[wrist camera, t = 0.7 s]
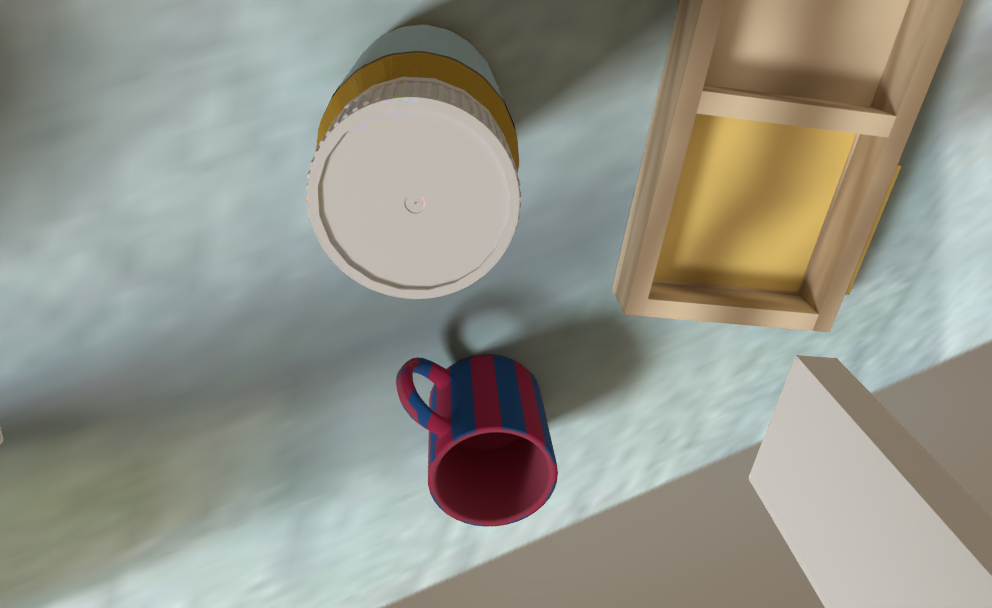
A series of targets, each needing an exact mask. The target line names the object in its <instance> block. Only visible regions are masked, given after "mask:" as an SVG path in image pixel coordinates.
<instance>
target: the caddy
mask: <svg viewBox="0 0 992 608" xmlns="http://www.w3.org/2000/svg"><path fill="white" fill-rule="evenodd" d="M963 2H964V0H679V5H678V9H677V13H676V18H675V22H674V26H673V30H672V35H671V39H670V43H669V48H668V52H667V56H666V60H665V65H664V69H663V73H662V78H661V82H660V86H659V90H658V95H657V99H656V103H655V107H654V112H653V116H652V120H651V125H650V129H649V133H648V137H647V142H646V146H645V150H644V155H643V159H642V163H641V167H640V172H639V176H638V180H637V185H636V189H635V193H634V197H633V202H632V206H631V210H630V215H629V219H628V223H627V227H626V232H625V236H624V240H623V245H622V249H621V253H620V257H619V262H618V266H617V270H616V275H615V279H614V283H613V287H612V290H613V292H614V294H615V296H616V298H617V300H618V302H619V304H620V306H621V308H622V310H623V312H624V314H625V315H635V316H647V317H659V318H671V319H682V320H694V321H706V322H717V323H729V324H741V325H753V326H764V327H776V328H788V329H800V330H811V331H823V332H830V330H831V328H832V325H833V323H834V320H835V318H836V315H837V313H838V310H839V308H840V306H841V303H842V301H843V298H844V296H845V294H846V295H849V293H850V291H851V289H852V286H853V284H854V281H855V279H856V276H857V274H858V271H859V269H860V267H861V264H862V262H863V259H864V257H865V254H866V252H867V249H868V247H869V244H870V242H871V240H872V237H873V235H874V232H875V230H876V227H877V225H878V222H879V220H880V218H881V215H882V213H883V210H884V208H885V205H886V203H887V200H888V198H889V196H890V193H891V191H892V188H893V186H894V183H895V181H896V178H897V176H898V173H899V171H900V169H901V165H899V164H898V162H899V160H900V158H901V155H902V153H903V150H904V148H905V145H906V143H907V140H908V138H909V135H910V133H911V130H912V128H913V125H914V123H915V120H916V118H917V116H918V113H919V111H920V108H921V106H922V103H923V101H924V98H925V96H926V93H927V91H928V88H929V86H930V83H931V81H932V79H933V76H934V74H935V71H936V69H937V66H938V64H939V61H940V59H941V56H942V54H943V51H944V49H945V46H946V44H947V42H948V39H949V37H950V34H951V32H952V29H953V27H954V24H955V22H956V19H957V17H958V14H959V12H960V9H961V7H962V5H963Z"/></svg>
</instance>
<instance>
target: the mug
mask: <svg viewBox="0 0 992 608" xmlns="http://www.w3.org/2000/svg"><path fill="white" fill-rule="evenodd" d="M413 372H415V373H418V374H421V375H423V376H425V377H426V378H428V379H429V380H431V381H432V382H433V383H435V384H434V386H433V388H432V391H431V395H430V399H429V407H428V406H427V405H426V404H425V403H424V401H423V400H422V399H421V398H420V396H419V394H418V393H417V391H416V389H415V386H414V383H413V376H412V374H413ZM396 385H397V391H398V395H399V398H400V401H401V403H402V405H403V407H404V409H405V410H406V412H407V413H408V414H409V415H410V416H411V418H413V419H414V420H415V421H416V422H417V423H418V424H420V425H421V426H423V427H424V428H426V429H428V430H429V452H428V486H429V490H430V493H431V495H432V497H433V499H434V501H435V502H436V504H437V505H438V506H439V508H441V509H442V510H443V511H444V512H445V513H446V514H448V515H449V516H451V517H453V518H454V519H456V520H459V521H461V522H464V523H467V524H471V525H476V526H501V525H507V524H510V523H514V522H517V521H520V520H522V519H524V518H526V517H528V516H530V515H531V514H533V513H535V512H536V511H537V510H538V509H540V508H541V507H542V506H543V505H544V504H545V503H546V501H547V500H548V499H549V498H550V496H551V494H552V493H553V491H554V489H555V486H556V483H557V475H558V471H557V463H556V459H555V454H554V450H553V446H552V441H551V437H550V433H549V428H548V424H547V419H546V415H545V411H544V406H543V402H542V398H541V393H540V389H539V387H538V384H537V382H536V380H535V378H534V377H533V375H532V374H531V373H530V372H529V371H528V370H527V369H526V368H525V367H523V366H522V365H521V364H519V363H517V362H515V361H513V360H511V359H507V358H504V357H500V356H493V355H482V356H476V357H471V358H468V359H464V360H462V361H460V362H458V363H456V364H454V365H452V366H451V367H449V368H448V369H445V368H443V367H441V366H440V365H438V364H436V363H434V362H432V361H430V360H427V359H424V358H412V359H411V360H409V361H407V362H406V363H405V364H404V365H403V366H402V368H401V369H400V370H399V372H398V374H397V379H396Z"/></svg>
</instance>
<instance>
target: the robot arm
mask: <svg viewBox="0 0 992 608" xmlns="http://www.w3.org/2000/svg"><path fill="white" fill-rule="evenodd" d="M2 442H3V436H2V432H1V428H0V444H1V443H2ZM749 480H750V482H751V483H752V485H753V486H754V488H755V490H756V492H757V493H758V495H759V497H760V499H761V500H762V502H763V503H764V505H765V507H766V509H767V510H768V512H769V514H770V515H771V517H772V518H773V520H774V522H775V524H776V525H777V527H778V529H779V531H780V532H781V534H782V536H783V537H784V539H785V541H786V542H787V544H788V546H789V547H790V549H791V551H792V553H793V554H794V556H795V558H796V559H797V561H798V563H799V564H800V566H801V568H802V569H803V571H804V573H805V574H806V576H807V578H808V580H809V581H810V583H811V585H812V586H813V588H814V590H815V591H816V593H817V595H818V596H819V598H820V599H821V601H822V603H823V605H824V607H825V608H992V517H991V516H990V515H989V514H988V512H987V511H986V510H985V509H984V508H983V507H982V506H981V505H980V504H979V503H978V502H977V501H976V500H975V499H974V498H973V497H972V496H971V495H970V494H969V493H968V492H967V491H966V490H965V489H964V488H963V487H962V486H961V485H960V484H959V483H958V482H957V481H956V480H955V479H954V478H953V477H952V476H951V475H950V474H949V473H948V472H947V471H946V470H945V469H944V468H943V466H942V465H940V463H939V462H938V461H937V460H936V459H934V457H933V456H932V455H931V454H930V453H929V452H928V451H927V450H926V449H925V448H924V447H923V446H922V445H921V444H920V443H919V442H918V441H917V440H916V439H915V438H914V437H913V436H912V435H911V434H910V433H909V432H908V431H907V430H906V429H905V428H904V427H903V426H902V425H901V424H900V423H899V422H898V420H897V419H896V418H895V417H894V416H893V415H891V413H890V412H889V411H888V410H886V408H884V406H883V405H882V404H881V403H880V402H879V401H878V400H877V399H876V398H875V397H874V396H873V395H872V394H871V393H870V392H869V391H868V390H867V389H866V388H865V387H864V386H863V385H862V384H861V383H860V382H859V381H858V380H857V379H856V378H855V377H854V376H853V374H852V373H851V372H850V371H849V370H848V369H847V368H846V367H845V366H844V365H843V364H842V363H841V362H840V361H839V360H838V359H837V358H825V357H812V356H799V355H796V356H795V359H794V361H793V364H792V367H791V369H790V372H789V374H788V377H787V380H786V382H785V385H784V387H783V390H782V392H781V395H780V398H779V400H778V403H777V405H776V408H775V411H774V413H773V416H772V418H771V421H770V424H769V426H768V429H767V431H766V434H765V436H764V439H763V442H762V444H761V447H760V449H759V452H758V455H757V457H756V460H755V462H754V465H753V468H752V470H751V473H750V475H749Z"/></svg>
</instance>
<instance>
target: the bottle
mask: <svg viewBox="0 0 992 608" xmlns="http://www.w3.org/2000/svg"><path fill="white" fill-rule="evenodd" d="M518 167H519V154H518V141H517V135H516V130H515V126H514V123H513V121H512V119H511V116H510V114H509V111H508V109H507V107H506V104H505V102H504V99H503V97H502V95H501V92H500V90H499V88H498V85H497V83H496V81H495V78H494V76H493V73H492V71H491V69H490V66H489V65H488V63H487V61H486V60H485V59H484V58H483V56H482V55H481V54H480V53H479V52H478V50H477V49H476V48H475V47H474V46H473V45H472V44H471V43H470V42H469V41H467V40H466V39H464V38H462V37H461V36H459V35H458V34H456V33H454V32H453V31H450V30H448V29H445V28H441V27H436V26H432V25H425V24H421V25H411V26H403V27H400V28H397V29H395V30H393V31H391V32H389V33H387V34H385V35H383V36H381V37H380V38H378V39H377V40H375V41H374V42H373V43H372V44H371V45H370V46H369V47H368V49H367V50H366V51H365V52H364V53H363V54H362V55H361V56H360V58H359V59H358V61H357V62H356V63H355V65H354V66H353V68H352V69H351V70H350V72H349V73H348V75H347V76H346V78H345V79H344V80H343V82H342V83H341V85H340V86H339V87H338V89H337V90H336V92H335V93H334V94H333V96H332V98H331V100H330V102H329V105H328V107H327V109H326V111H325V113H324V115H323V117H322V119H321V122H320V126H319V130H318V139H317V149H316V151H315V153H314V158H313V160H312V161H311V163H310V168H311V169H310V171H309V173H308V176H307V178H308V179H309V180H308V183H307V185H306V190H307V197H306V201H307V202H308V213H309V216H310V221H311V224H312V227H313V229H314V232H315V234H316V236H317V239H318V241H319V242H320V244H321V246H322V248H323V249H324V251H325V252H326V253H327V255H328V256H329V257H330V259H331V260H332V261H333V262H334V263H335V264H336V265H337V266H338V267H339V268H340V269H341V270H342V271H343V272H344V273H345V274H347V275H348V276H349V277H351V278H352V279H353V280H355V281H357V282H358V283H360V284H362V285H363V286H365V287H367V288H369V289H372V290H374V291H377V292H379V293H382V294H386V295H389V296H394V297H399V298H408V299H425V298H434V297H439V296H443V295H447V294H450V293H453V292H456V291H458V290H461V289H463V288H465V287H467V286H469V285H471V284H472V283H474V282H475V281H477V280H478V279H480V278H481V277H482V276H484V275H485V274H486V273H487V272H488V271H489V270H490V269H491V268H492V267H493V266H494V265H495V264H496V263H497V262H498V261H499V259H500V258H501V257H502V255H503V254H504V252H505V251H506V249H507V247H508V245H509V243H510V241H511V239H512V238H513V234H514V231H515V229H516V227H517V220H518V219H519V209H520V207H521V203H520V200H519V198H520V197H521V192H520V189H519V186H520V181H519V178H518V175H517V174H518Z"/></svg>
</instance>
